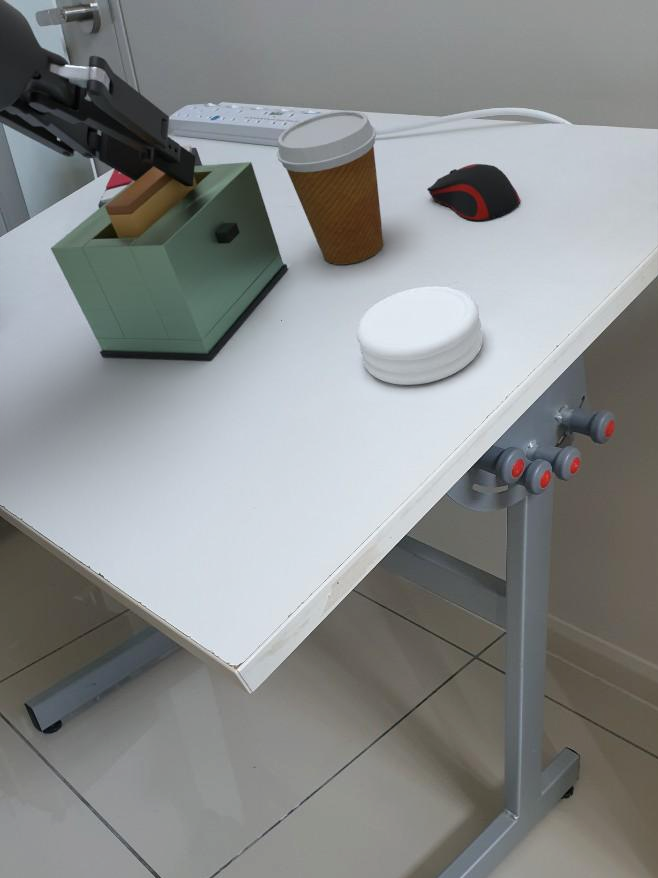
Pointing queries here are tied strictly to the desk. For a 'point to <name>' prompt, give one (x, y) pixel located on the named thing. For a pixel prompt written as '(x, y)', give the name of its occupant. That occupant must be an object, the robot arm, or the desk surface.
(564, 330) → the desk surface
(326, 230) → the disposable coffee cup
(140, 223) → the toast
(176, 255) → the toaster
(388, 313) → the white round container
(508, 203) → the computer mouse
